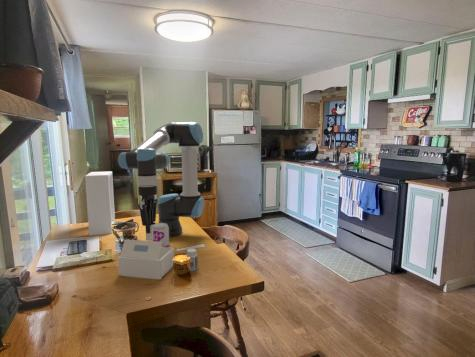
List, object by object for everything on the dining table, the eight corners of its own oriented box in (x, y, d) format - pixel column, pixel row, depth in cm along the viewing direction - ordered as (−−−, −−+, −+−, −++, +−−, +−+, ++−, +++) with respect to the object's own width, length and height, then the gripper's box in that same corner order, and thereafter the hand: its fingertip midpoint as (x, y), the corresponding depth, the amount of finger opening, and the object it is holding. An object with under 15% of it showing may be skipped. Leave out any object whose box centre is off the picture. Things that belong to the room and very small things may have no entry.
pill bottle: (194, 265, 133) (194, 247, 132) (199, 269, 129) (199, 250, 128) (184, 268, 130) (184, 249, 129) (189, 272, 127) (189, 252, 125)
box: (95, 225, 196) (91, 171, 191) (115, 223, 200) (112, 171, 195) (89, 235, 176) (84, 175, 171) (111, 233, 179) (108, 175, 174)
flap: (125, 239, 125) (124, 239, 125) (161, 242, 122) (161, 241, 122) (120, 256, 122) (119, 256, 122) (158, 259, 119) (157, 259, 119)
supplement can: (165, 259, 140) (164, 227, 139) (149, 257, 142) (147, 226, 140) (172, 252, 148) (171, 223, 146) (156, 251, 150) (155, 222, 148)
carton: (136, 261, 137) (135, 245, 136) (175, 265, 134) (174, 247, 133) (118, 275, 123) (117, 257, 122) (161, 279, 120) (160, 260, 119)
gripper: (146, 183, 134) (149, 234, 137) (131, 187, 121) (133, 244, 124) (162, 183, 132) (164, 235, 135) (148, 188, 119) (150, 245, 122)
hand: (149, 239), depth 129 cm, fingers closed
